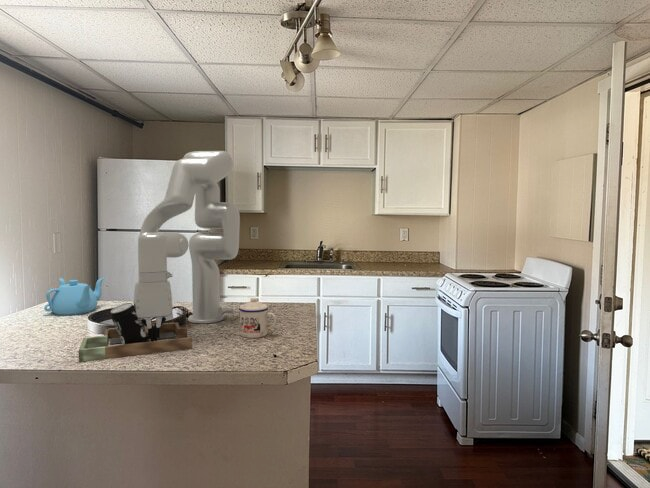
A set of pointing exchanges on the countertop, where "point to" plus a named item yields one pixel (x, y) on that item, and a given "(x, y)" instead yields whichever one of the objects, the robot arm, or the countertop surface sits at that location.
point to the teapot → (73, 298)
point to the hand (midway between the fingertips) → (153, 340)
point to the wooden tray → (100, 350)
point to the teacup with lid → (254, 319)
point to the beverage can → (128, 324)
